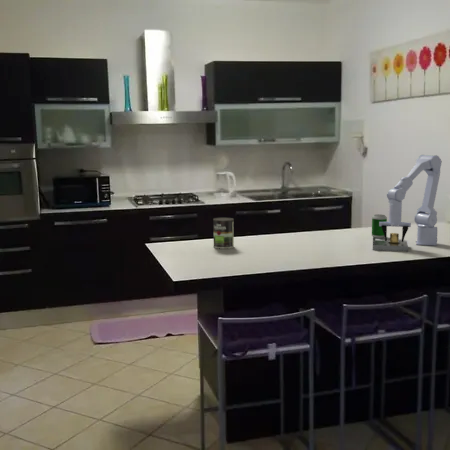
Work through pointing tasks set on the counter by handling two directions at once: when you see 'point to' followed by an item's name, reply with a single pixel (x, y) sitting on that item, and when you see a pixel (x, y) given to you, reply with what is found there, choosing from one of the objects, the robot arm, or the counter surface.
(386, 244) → the jig
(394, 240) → the bushing
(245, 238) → the counter surface
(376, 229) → the soda can
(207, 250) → the counter surface
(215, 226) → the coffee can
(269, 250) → the counter surface
